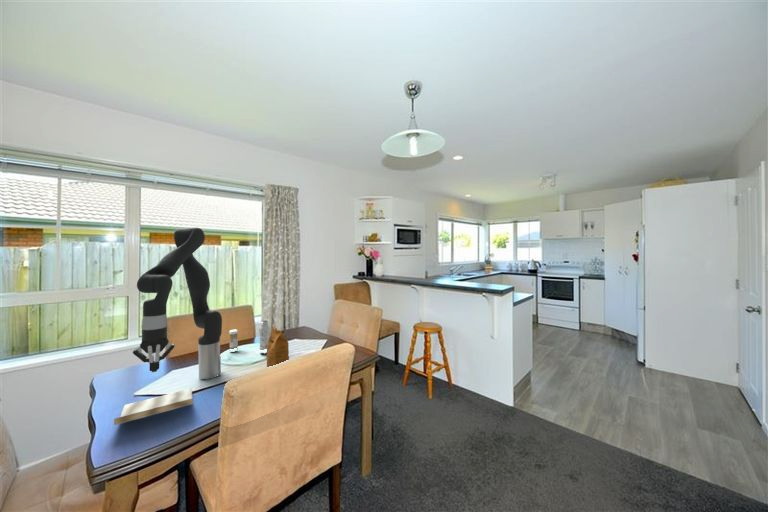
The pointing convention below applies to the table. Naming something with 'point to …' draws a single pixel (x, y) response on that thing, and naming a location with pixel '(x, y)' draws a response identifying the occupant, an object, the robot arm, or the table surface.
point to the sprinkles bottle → (233, 339)
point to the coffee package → (277, 348)
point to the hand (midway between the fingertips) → (154, 371)
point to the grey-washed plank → (156, 402)
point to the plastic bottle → (264, 335)
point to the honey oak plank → (152, 411)
